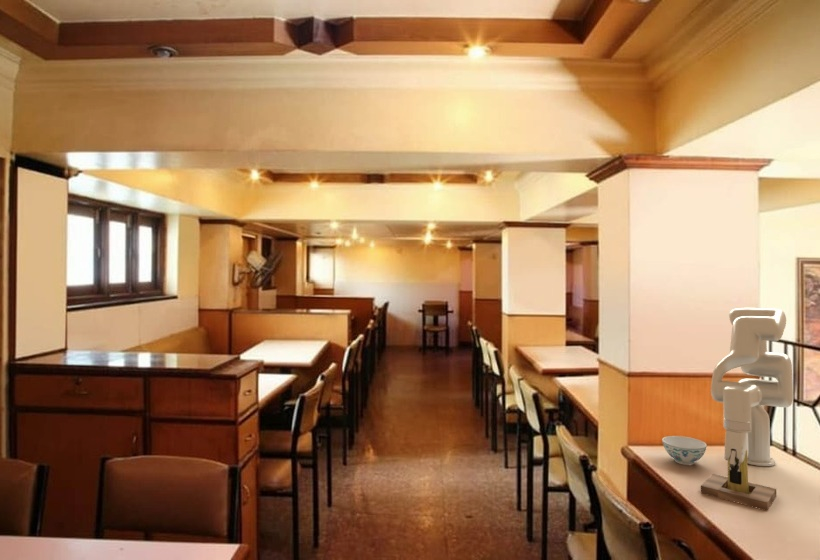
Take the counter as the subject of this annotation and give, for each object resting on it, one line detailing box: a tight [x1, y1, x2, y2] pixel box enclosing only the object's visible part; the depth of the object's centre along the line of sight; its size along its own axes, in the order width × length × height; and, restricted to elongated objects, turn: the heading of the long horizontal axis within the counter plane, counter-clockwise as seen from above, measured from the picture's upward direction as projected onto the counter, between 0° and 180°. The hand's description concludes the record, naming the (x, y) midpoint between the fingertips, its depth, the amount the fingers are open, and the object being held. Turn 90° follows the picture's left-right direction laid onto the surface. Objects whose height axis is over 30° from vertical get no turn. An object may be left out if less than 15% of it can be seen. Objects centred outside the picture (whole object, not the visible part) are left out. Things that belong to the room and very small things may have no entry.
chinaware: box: [661, 435, 708, 466], centre depth 190 cm, size 15×15×8 cm
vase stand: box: [700, 473, 777, 511], centre depth 160 cm, size 14×18×2 cm
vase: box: [727, 450, 750, 495], centre depth 160 cm, size 6×6×14 cm
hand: (738, 479), depth 160 cm, fingers closed on vase, 5 cm apart
